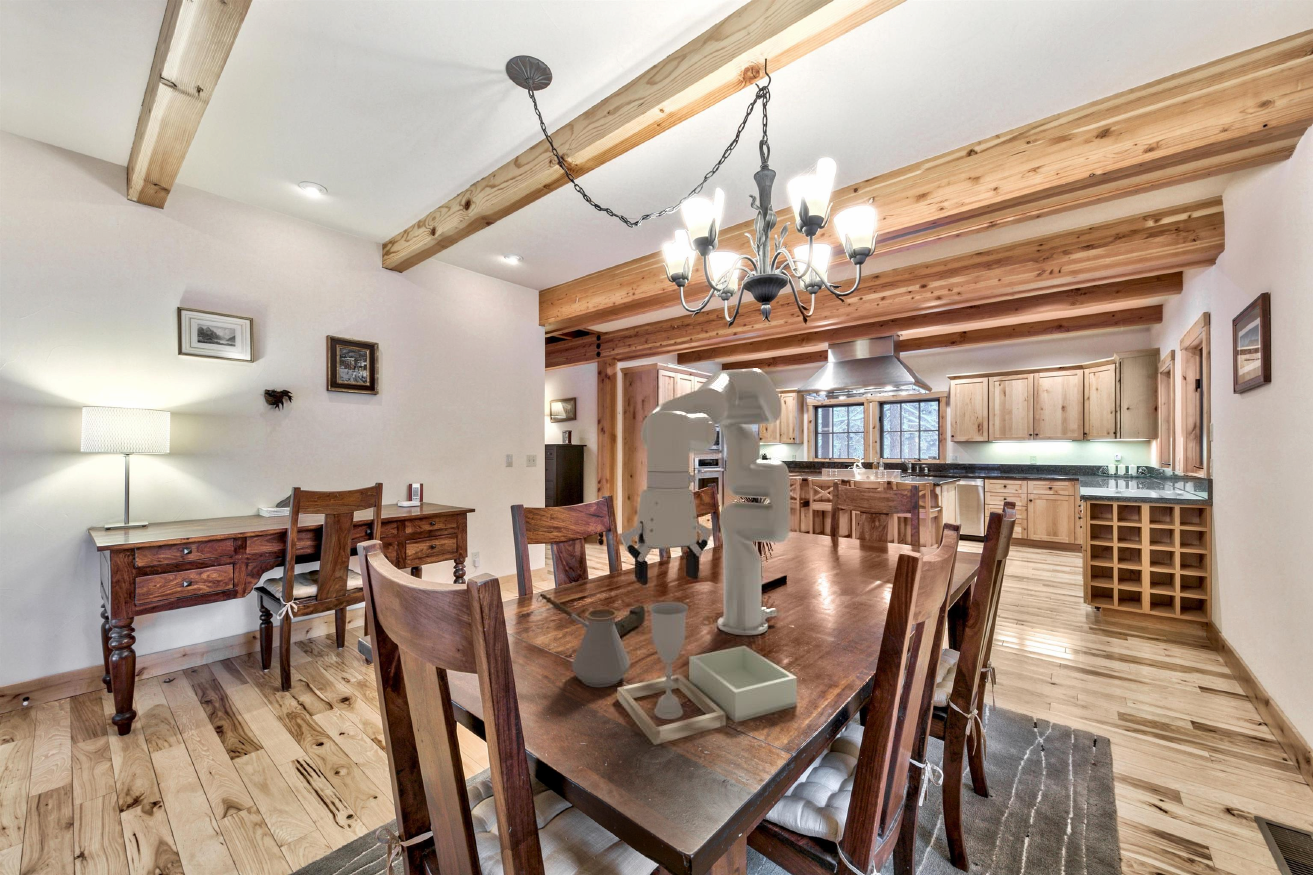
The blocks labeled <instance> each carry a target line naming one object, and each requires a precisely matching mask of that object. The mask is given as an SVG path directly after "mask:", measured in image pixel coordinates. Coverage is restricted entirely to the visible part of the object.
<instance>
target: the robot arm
mask: <svg viewBox="0 0 1313 875" xmlns="http://www.w3.org/2000/svg"><path fill="white" fill-rule="evenodd" d="M782 408H783V407H782V399H781V397H780V394H779V392H778V391H777V389H776V387H775V385H774V383H773V382H772V380H771V378H770V377H769V375H767V373H765V372H764V371H763V370H761V369H759V368H743V369H742V368H741V369H739V368H738V369H727V370H720V371H716V372H714V373H713V374H711V375H710V377H708V378H707V379H706V380H705V381H704V382H703V383H702V384H701V385H700V387H698V389H696V390H692V391H690V392H688V393H684V394H683V395H682V394H681V395H680V396H677V397H674V398H672V399H669V400H667V401H665V402H662V403H660V404H659V405H657V406H656V407H655V408H654V409H652V410H651V411H650V412H649V413H648V415H647V416H646V417H645V419H644V421H643V422H642V425H641V430H640V438H641V442H642V444H643V446H644V447H645V449H646V489H642V490H641V493H640V497H639V503H638V510H637V518H636V519H637V520H636V525H634V526H632V527H631V528H629V529H628V530H625V532H623V533H621V534H620V536H619V537H620V541H621V542H622V545H623V546H624V549H625V551H626V552H627V553H628V554H629V555H630V556H631V557H632V559H634V577H635V580H636V582H637V583H639V584H641V585H642V586H647V585H648V584H649V583H648V582H649V581H648V580H649V573H648V572H649V571H648V570H649V567H648V566H649V563H648V561H647V560H646V558H647V557H648V555H649V554H650V553H651V551H652V550H661V549H664V550H665V549H676V548H685V549H686V550H687V551H688V553H686V555H685V576H686V577H688V578H690V579H693V580H698V578H699V572H700V557H701V556H703V555H702V554H703V551H704V550H705V548H707V546H708V545H709V541H710V538H711V535H712V534H713V530H712V529H711V528H709V527H707V526H705V525H704V524H702V523H700V522H698V516H697V509H696V508H697V507H696V501H695V496H694V491H693V489H690V487H691V484H692V483H695V482H696V480H697V479H696V475H695V474H691V470H690V454H703V453H706V452H708V451H710V450H711V448H713V447H714V445H715V443H716V442H717V441H716V440H717V433H718V430H717V426H716V425H718V427H720V430H721V432H722V433H723V436H724V439H725V444H726V448H725V449H726V451H725V452H726V456H725V457H726V459H725V462H726V463H725V468H726V469H725V475H726V476H725V480H726V489H727V492H728V493H729V494H731V495H732V496H736V497H740V498H741V497H742V498H755V499H756V498H757V499H761V498H762V499H768V501H769V503H761V502H760V503H758V502H747V501H746V502H745V501H744V502H743V501H735V502H730V503H727V504H725V505H724V506H723V507H722V508H721V510H720V512H719V526H720V532H721V538H722V539H721V540H722V548H723V550H722V551H723V553H722V554H723V616H722V617H720V618H718V620H717V627H718V628H719V630H721V631H723V632H725V633H728V634H732V635H737V636H754V635H755V636H756V635H761V634H763V633H765V632H766V631H768V629H769V624H768V622H767V621H766V619H768V618H769V617H770V618H771V617H772V618H773V617H777V615H778V611H777V609H776V608H775V607H774V608H772V607H771V608H768V609H767V607H765V606H764V607H762V557H761V554H760V552H759V550H758V549H757V547H756V546H755V544H754V542H762V543H777V544H778V543H780V544H781V543H783V542H785V541H786V540H787V539H788V538H789V536H790V532H791V478H790V471H789V468H788V466H787V465H786V464H785V462H783V461H781V460H773V459H771V460H770V459H761V456H760V455H761V454H760V452H761V449H760V448H761V447H760V446H761V444H760V443H761V442H760V439H759V437H758V434H757V433H756V432H755V431H754V429H753V428H752V427H751V426H750V425H772V424H774V423H776V422H778V420H779V419H780V417H781V415H782ZM698 532H699V534H700V536H699V538H698ZM634 538H635V540H636V543H637V544H638V545H637V547H636V546H634V543H633V539H634ZM697 538H698V539H697Z"/></svg>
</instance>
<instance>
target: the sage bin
mask: <svg viewBox="0 0 1313 875" xmlns="http://www.w3.org/2000/svg"><path fill="white" fill-rule="evenodd" d="M688 658H689V659H688V663H689V664H688V665H689V666H688V669H689V671H688V672H689V674H688V676H689V677H688V678H689V680H688V681H689V682H690V683H691V684H692V685H693V686H694V687H696V688H697V689H698V690H699V691H700V692H701V693H703V694H704V695H705V696H706V697H707V698H708V699H710V700H711V701H712V702H713V703H714V704H715V705H716V706H718V707H719V708H720V709H721V710H722V711H723V712H725V716H727V717H729V719H731V720H732V721H733V722H734V723H740V722H743V721H746V720H749V719H754V718H757V717H761V716H764V715H769V714H772V713H776V712H779V711H782V710H783V711H784V710H786V709H790V708H794V707H797V706H798V694H797V693H798V692H797V691H798V681H797V680H798V677H797V676H795V675H794V674H792V673H790V672H788V671H787V670H785V669H783V668H782V667H780V666H778V665H777V664H775V663H774V662H772V661H771V660H769V659H767V658H765V657H764V656H762V655H761V654H759V653H757V652H755V651H754V650H752V649H750V648H749V647H747V646H746V645H741V646H737V647H731V648H726V649H721V650H716V651H712V652H707V653H702V654H697V655H691V656H689V657H688Z"/></svg>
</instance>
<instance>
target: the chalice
mask: <svg viewBox="0 0 1313 875" xmlns="http://www.w3.org/2000/svg"><path fill="white" fill-rule="evenodd" d="M688 609H689V606H688V605H687V604H686V603H682V602H678V601H660V602H655V603H653V604H651V605H650V606H648V611H650V612H649V613H650V614H651V639H652V642H653V645H654V647H655V650H656V652H657V654H658V656H659V658H660V661H661V662H664V663H665V665H666V666H665V670H664V672H663V674H664V676H665V677H666V681H665V682H664V685H665V686H666V691H665V694H663V695H661V696H660V697H659V699H658V701H657V703H656V707H655V708H654V711H653V713H654V715H655V716H656V717H657V718H660V719H664V720H674V719H678V718H680V717H681V716H682V715H683V714H684V710H683V708H682V704H681V702H680V699H679V698H678V697H677V696H676V695H674V693H672V689H671V688H672V685H673V684H674V683H673V682H672V679H671V676H673V674H674V671H673V669H672V663H673V662H675V661H677V659H678V656H679V655H680V652H681V651H682V648H683V645H684V642H685V639H686V632H687V631H686V614H687V613H688V611H689V610H688Z"/></svg>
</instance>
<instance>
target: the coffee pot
mask: <svg viewBox="0 0 1313 875" xmlns="http://www.w3.org/2000/svg"><path fill="white" fill-rule="evenodd" d="M540 598H541V599H540ZM539 599H540V600H539ZM543 600H545V601H546V603H547V604H550V605H551V606H553V608H554V609H556V610H557V611H559V612H561V613H563V614H564V615H565V616H568V617H569V618H571V619H573V620H574V621H576V622H577V623H578V624H580V625H581V626H583V627H584V628H585V629H586V630H585V632H584V635H583V637H582V639H581V642H580V645H579V646H578V650H577V651H576V654H575V656H574V659H573V660H572V661H573V662H572V664H571V666H572V671H573V673H574V674H575V676H576V677H577V679H579V681H580V680H581V682H582V683H583V684H585V685H586V686H589V687H593V688H605V687H611V686H613V685H616V684H618V683H619V682H620V681H621V679H622V678H623V677H625V675H626V674H627V673H628V671H629V669H630V667H631V666H630V665H631V662H630V658H629V656H628V654H627V652H626V651H627V650H626V649H625V647H624V644H623V641H622V639H621V636H620V637H619V634H618V632H617V629H616V627H615V625H614V623H615V622H616V621H615V620H616V618H617V617H618V614H619V613H618V612H617V611H616V610H614V609H611V608H596V609H592V610H588V611H586V613H585V614H584V617H585V618H586V619H587V621H585V620H583V619H582V618H580V617H578V616H577V615H575V614H573V612H571V611H570V610H569V609H568V608H566V607H565V606H564V605H562V604H561V603H559V602H558V601H556V600H554V599H552V597H550V596H549V597H548V596H547V595H546V594H544V593H540V595H539V596H538V597H537V598H536V602H538V603H541V602H542V601H543Z"/></svg>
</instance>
